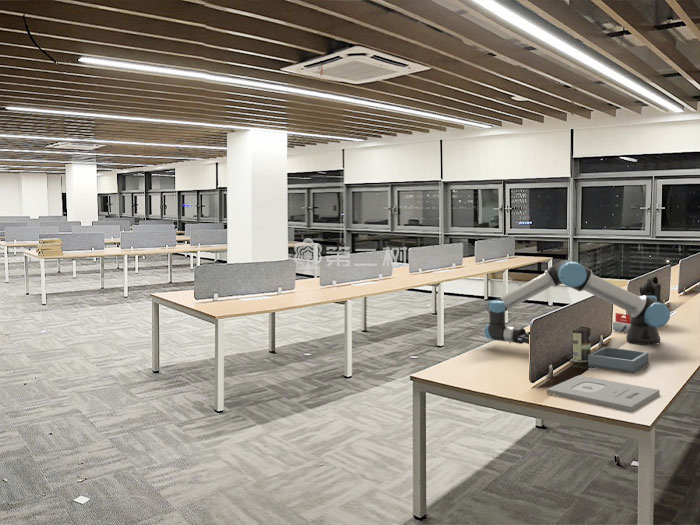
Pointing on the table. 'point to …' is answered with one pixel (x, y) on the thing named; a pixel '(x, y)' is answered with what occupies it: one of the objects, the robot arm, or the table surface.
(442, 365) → the table surface
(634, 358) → the tray
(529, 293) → the robot arm
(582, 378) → the award plaque
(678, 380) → the table surface
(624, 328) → the ink cartridge box
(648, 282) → the shoulder bag
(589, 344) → the coffee can
